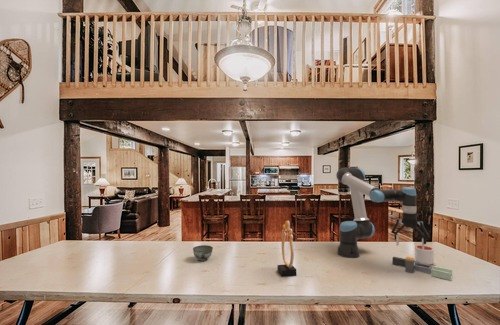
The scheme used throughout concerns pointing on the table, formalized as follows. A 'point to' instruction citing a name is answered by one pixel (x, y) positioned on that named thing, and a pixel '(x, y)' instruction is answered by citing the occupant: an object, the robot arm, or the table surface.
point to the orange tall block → (409, 264)
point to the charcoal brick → (398, 261)
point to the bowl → (202, 252)
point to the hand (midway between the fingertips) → (410, 247)
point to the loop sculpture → (287, 268)
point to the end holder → (442, 273)
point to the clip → (423, 268)
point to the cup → (424, 255)
